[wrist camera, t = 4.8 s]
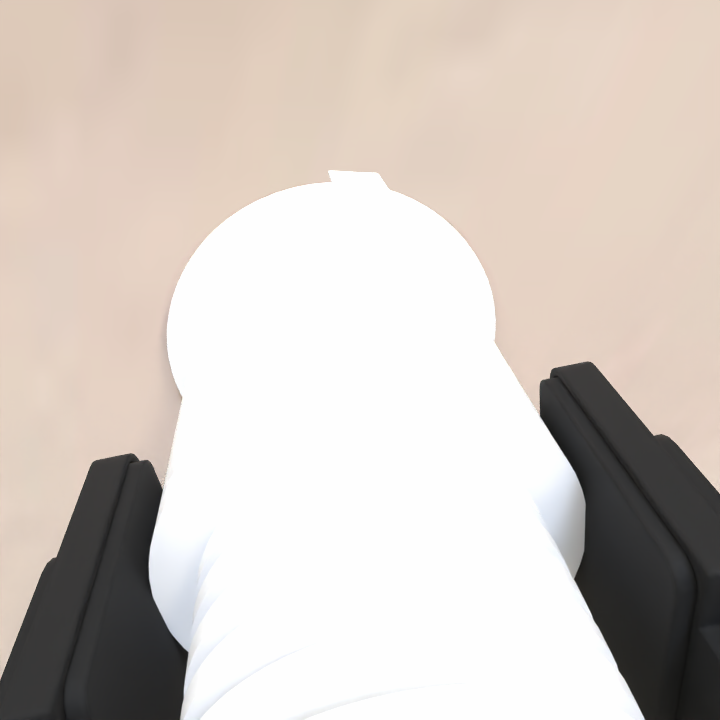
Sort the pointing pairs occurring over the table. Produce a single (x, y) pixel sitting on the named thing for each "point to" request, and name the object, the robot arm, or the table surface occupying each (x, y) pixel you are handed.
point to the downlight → (365, 482)
